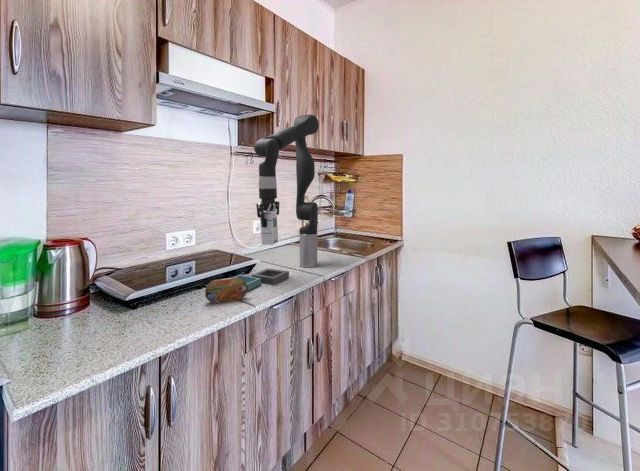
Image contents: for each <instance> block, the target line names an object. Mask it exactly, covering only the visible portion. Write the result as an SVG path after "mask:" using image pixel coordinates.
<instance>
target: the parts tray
mask: <svg viewBox="0 0 640 471" xmlns="http://www.w3.org/2000/svg"><path fill="white" fill-rule="evenodd" d="M234 277H238V278H241V279H243V280H244V281H245V282H246V283H247V285H248V292H250V291H252V290H254V289H255V288H258V287H260V286H262V283H261V278H256V277H251V276H248V275H244V274H243V275H242V274H238V275H235V276H233V277H232V278H234Z"/></svg>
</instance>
